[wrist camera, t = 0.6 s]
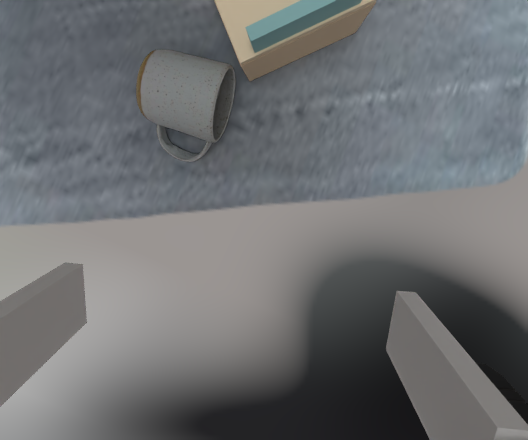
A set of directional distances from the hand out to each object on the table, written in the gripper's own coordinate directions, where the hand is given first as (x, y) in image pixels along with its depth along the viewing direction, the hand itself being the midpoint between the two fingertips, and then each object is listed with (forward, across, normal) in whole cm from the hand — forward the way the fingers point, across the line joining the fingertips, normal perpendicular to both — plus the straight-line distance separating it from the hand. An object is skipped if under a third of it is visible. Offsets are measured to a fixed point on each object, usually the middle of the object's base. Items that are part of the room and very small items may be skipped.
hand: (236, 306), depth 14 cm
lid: (+18, +1, +18) cm, 26 cm away
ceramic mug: (+27, -8, +9) cm, 29 cm away
